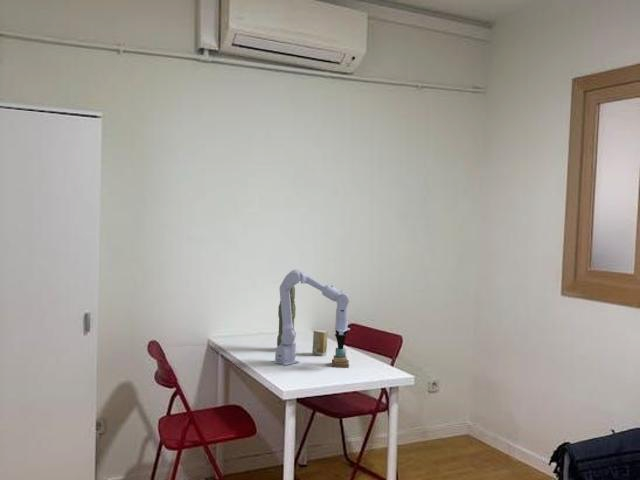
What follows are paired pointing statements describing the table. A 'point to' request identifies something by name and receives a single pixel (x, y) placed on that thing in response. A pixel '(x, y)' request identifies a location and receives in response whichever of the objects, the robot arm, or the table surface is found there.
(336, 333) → the robot arm
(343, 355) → the teal cylinder
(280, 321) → the thermos
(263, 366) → the table surface
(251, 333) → the table surface
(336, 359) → the oak block
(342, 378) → the table surface
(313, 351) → the skincare box
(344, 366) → the walnut slab
